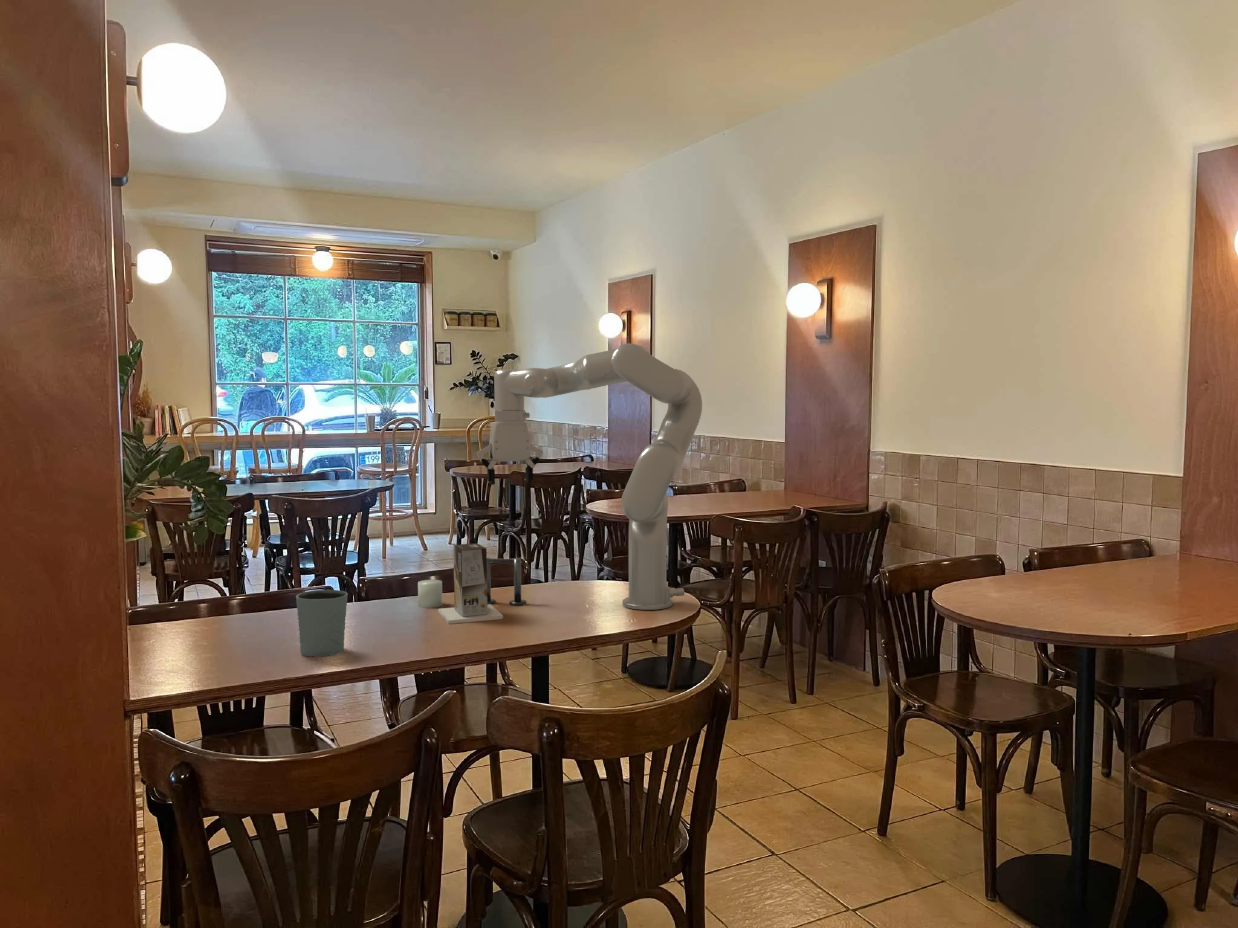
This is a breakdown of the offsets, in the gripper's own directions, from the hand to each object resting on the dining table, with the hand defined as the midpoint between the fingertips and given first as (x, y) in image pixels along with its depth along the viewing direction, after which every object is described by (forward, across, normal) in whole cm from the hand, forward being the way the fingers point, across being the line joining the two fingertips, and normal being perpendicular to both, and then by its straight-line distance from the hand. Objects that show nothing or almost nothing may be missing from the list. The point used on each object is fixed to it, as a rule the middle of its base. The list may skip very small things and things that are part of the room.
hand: (510, 483), depth 239 cm
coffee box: (+30, +14, +14) cm, 36 cm away
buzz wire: (+30, +7, +4) cm, 31 cm away
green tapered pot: (+31, +49, +34) cm, 67 cm away
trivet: (+30, +14, +14) cm, 36 cm away
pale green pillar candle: (+30, +21, -1) cm, 37 cm away
